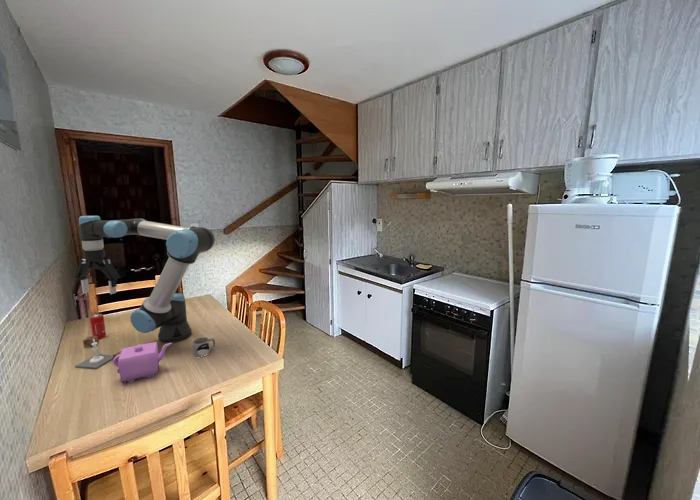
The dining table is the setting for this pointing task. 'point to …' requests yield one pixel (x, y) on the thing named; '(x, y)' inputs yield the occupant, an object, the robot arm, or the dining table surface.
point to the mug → (202, 346)
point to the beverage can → (98, 326)
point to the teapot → (139, 361)
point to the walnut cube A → (90, 341)
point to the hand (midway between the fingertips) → (99, 293)
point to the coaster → (89, 365)
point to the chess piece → (96, 354)
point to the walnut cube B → (116, 355)
